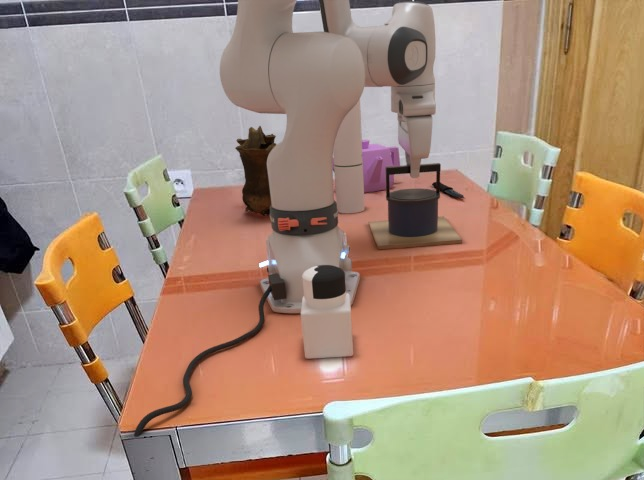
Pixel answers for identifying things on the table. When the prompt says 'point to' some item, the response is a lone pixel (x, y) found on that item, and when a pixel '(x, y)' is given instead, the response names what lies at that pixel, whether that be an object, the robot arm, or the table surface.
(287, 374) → the table surface
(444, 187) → the knife
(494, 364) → the table surface
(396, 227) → the pot
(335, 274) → the medicine bottle
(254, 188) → the pottery vessel
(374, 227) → the cutting board
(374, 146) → the teakettle
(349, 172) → the cylindrical container
